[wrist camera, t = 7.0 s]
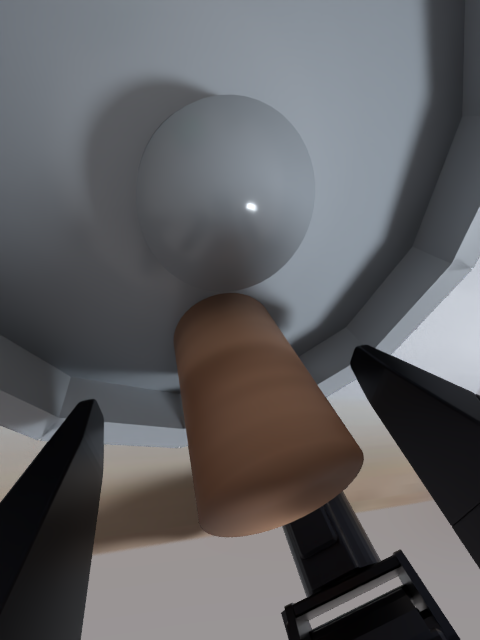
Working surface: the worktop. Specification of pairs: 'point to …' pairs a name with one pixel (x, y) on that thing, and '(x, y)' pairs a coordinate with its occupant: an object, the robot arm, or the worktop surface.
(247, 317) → the brown cork stopper
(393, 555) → the robot arm
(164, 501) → the worktop surface
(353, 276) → the groove tray
